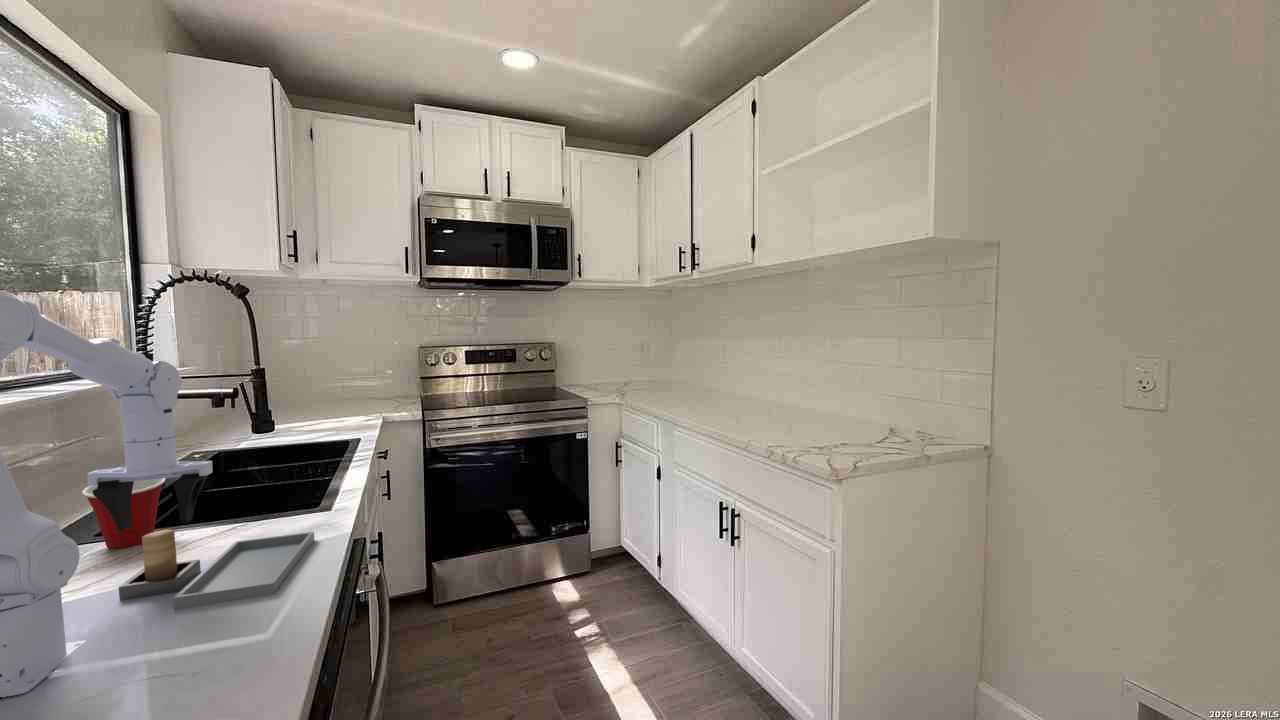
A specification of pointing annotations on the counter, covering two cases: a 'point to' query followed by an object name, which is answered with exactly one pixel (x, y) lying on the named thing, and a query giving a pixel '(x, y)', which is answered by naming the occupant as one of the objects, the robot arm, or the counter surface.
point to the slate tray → (246, 570)
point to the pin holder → (159, 582)
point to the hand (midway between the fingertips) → (156, 524)
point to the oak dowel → (159, 555)
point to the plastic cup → (142, 514)
